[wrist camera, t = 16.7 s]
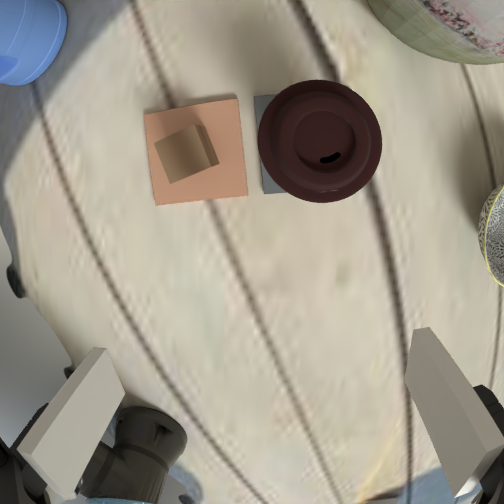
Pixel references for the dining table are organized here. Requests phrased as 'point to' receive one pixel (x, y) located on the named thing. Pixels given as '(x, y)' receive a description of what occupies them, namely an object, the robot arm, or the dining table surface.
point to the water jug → (29, 38)
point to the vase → (447, 27)
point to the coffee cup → (319, 141)
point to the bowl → (493, 233)
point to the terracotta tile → (223, 141)
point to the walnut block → (186, 153)
